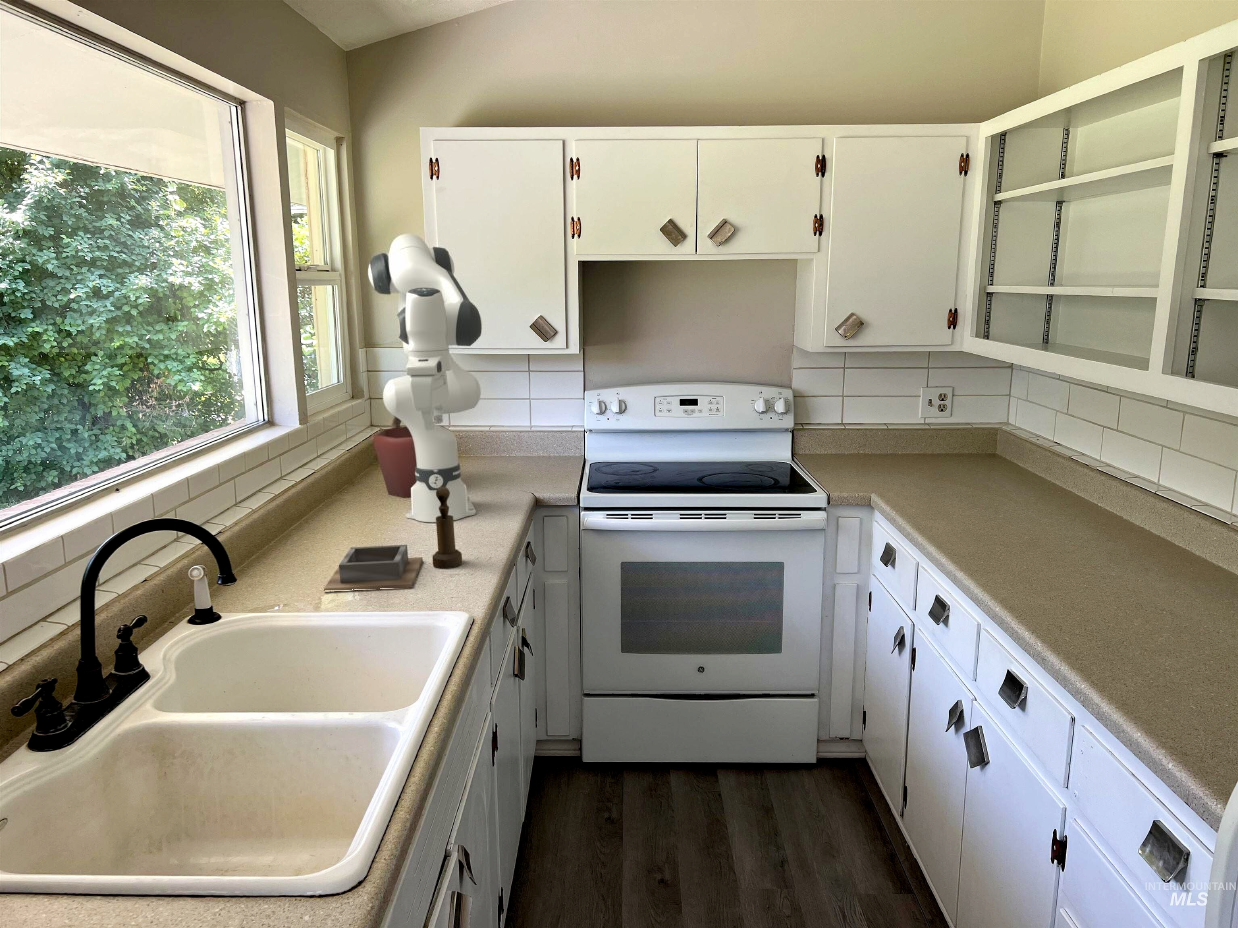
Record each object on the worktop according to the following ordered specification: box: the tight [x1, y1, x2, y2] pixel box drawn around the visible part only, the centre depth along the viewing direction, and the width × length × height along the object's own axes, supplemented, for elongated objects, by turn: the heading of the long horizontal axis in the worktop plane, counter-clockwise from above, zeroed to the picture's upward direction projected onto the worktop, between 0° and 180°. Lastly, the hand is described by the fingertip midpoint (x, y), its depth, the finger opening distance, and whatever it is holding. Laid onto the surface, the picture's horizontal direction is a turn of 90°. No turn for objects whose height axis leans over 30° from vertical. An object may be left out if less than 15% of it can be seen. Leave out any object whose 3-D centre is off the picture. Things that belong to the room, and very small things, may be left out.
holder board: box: [323, 544, 424, 592], centre depth 192 cm, size 18×18×5 cm
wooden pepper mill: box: [432, 487, 463, 569], centre depth 198 cm, size 7×6×18 cm
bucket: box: [372, 415, 450, 499], centre depth 266 cm, size 24×22×25 cm
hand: (434, 426), depth 194 cm, fingers open, 8 cm apart
